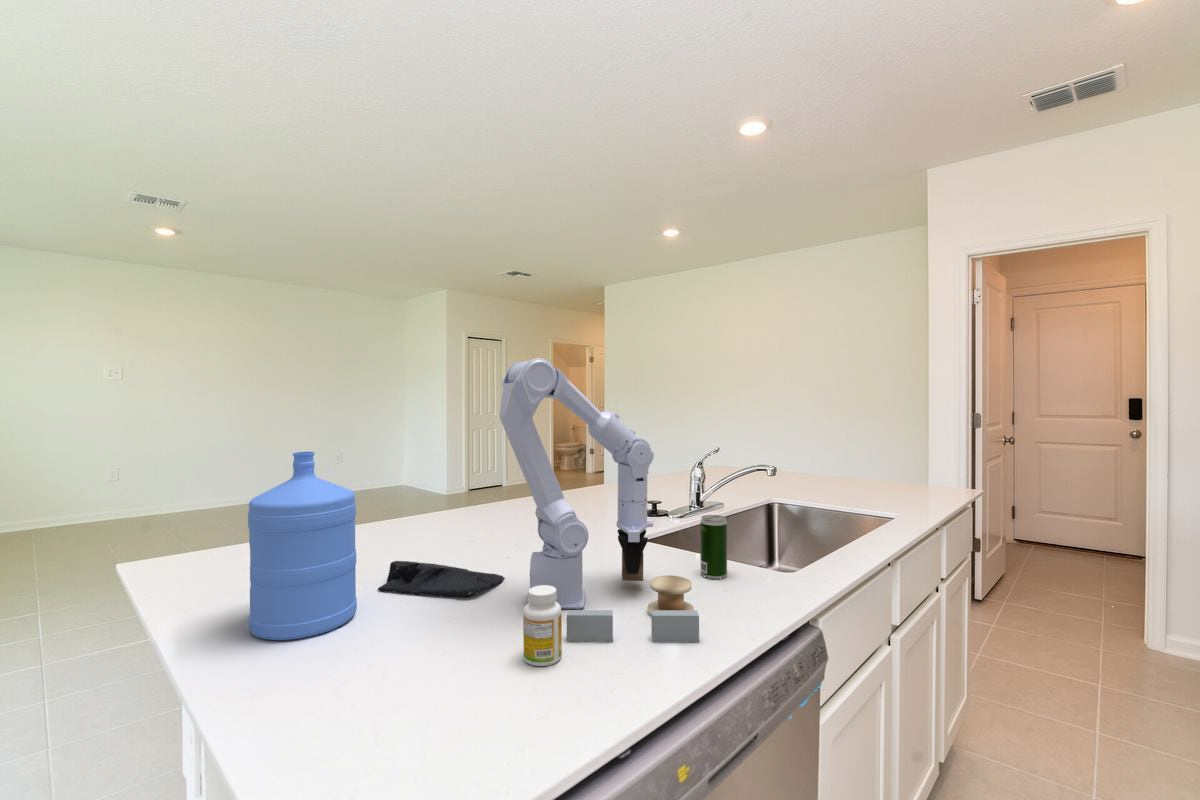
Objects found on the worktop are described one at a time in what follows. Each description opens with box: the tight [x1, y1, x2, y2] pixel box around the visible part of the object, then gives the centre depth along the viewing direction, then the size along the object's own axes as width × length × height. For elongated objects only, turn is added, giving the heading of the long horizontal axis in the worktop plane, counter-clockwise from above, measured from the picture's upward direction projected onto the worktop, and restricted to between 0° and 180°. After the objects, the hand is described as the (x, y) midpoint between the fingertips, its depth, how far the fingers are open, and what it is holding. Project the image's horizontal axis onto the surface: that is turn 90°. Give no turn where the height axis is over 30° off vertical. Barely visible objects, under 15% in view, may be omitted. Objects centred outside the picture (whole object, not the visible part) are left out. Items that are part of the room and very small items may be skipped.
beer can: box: [699, 514, 728, 580], centre depth 111 cm, size 5×5×12 cm
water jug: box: [247, 451, 358, 641], centre depth 89 cm, size 16×16×28 cm
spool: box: [646, 574, 696, 618], centre depth 92 cm, size 8×8×5 cm
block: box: [621, 549, 644, 582], centre depth 104 cm, size 4×4×5 cm
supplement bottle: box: [522, 585, 563, 667], centre depth 76 cm, size 5×5×10 cm
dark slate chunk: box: [377, 560, 506, 598], centre depth 106 cm, size 15×22×5 cm
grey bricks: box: [566, 609, 700, 643], centre depth 82 cm, size 20×2×4 cm, turn 89°
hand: (632, 569), depth 104 cm, fingers closed on block, 3 cm apart
